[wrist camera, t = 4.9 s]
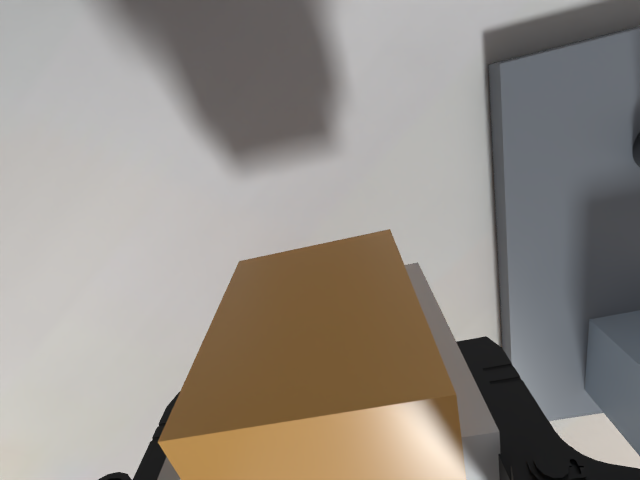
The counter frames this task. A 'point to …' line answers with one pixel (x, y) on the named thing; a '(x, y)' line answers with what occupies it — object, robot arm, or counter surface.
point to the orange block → (318, 375)
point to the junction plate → (571, 225)
